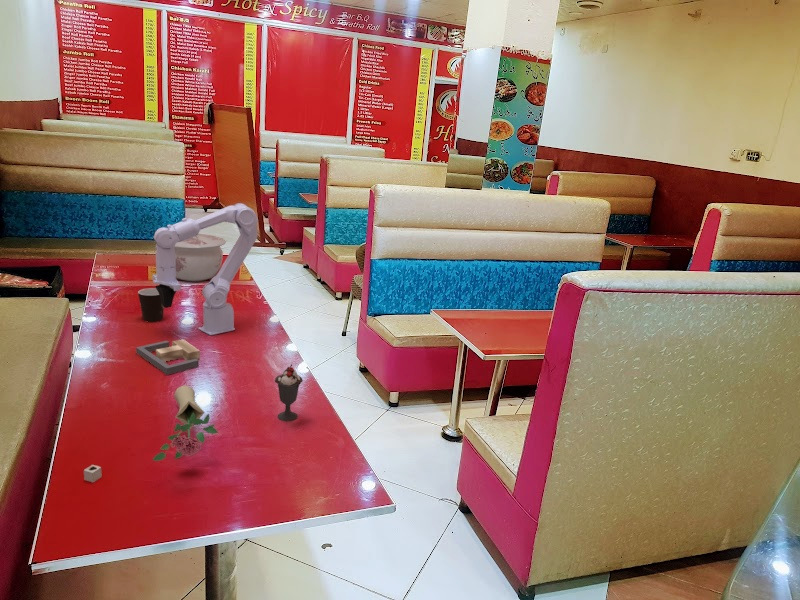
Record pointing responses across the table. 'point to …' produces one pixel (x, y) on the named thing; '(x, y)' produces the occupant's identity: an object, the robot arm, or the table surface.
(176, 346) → the T block
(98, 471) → the beige hollow cube
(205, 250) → the chamber pot
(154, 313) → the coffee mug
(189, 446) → the flower vase
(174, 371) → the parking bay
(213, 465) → the table surface
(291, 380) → the sundae
